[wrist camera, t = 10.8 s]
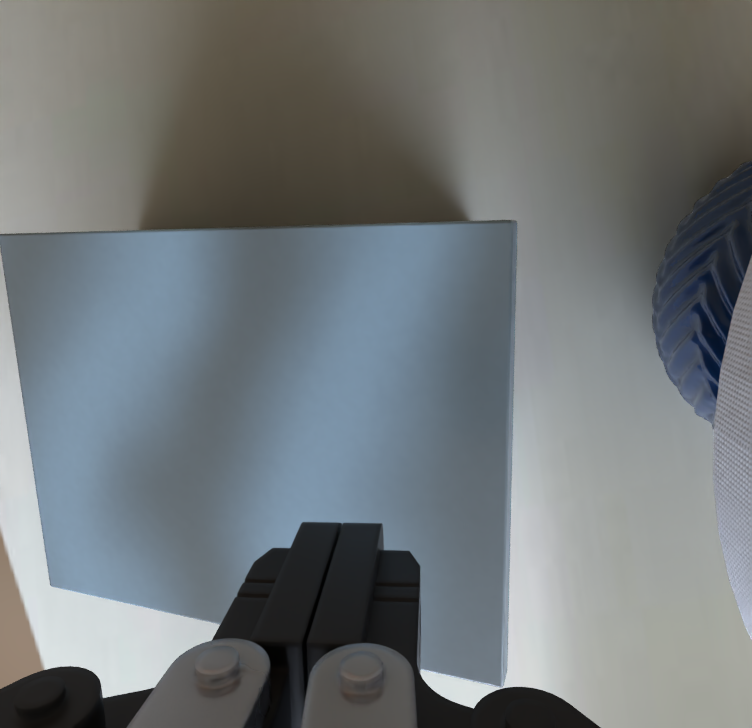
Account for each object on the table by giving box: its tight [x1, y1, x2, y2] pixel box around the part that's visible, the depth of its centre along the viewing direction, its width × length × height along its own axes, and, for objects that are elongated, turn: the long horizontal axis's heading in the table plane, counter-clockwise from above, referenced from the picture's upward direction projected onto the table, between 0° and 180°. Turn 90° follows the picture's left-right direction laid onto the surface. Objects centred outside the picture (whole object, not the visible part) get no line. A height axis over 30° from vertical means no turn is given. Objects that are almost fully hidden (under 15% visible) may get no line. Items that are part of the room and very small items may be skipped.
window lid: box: [0, 220, 517, 687], centre depth 19 cm, size 16×13×1 cm
